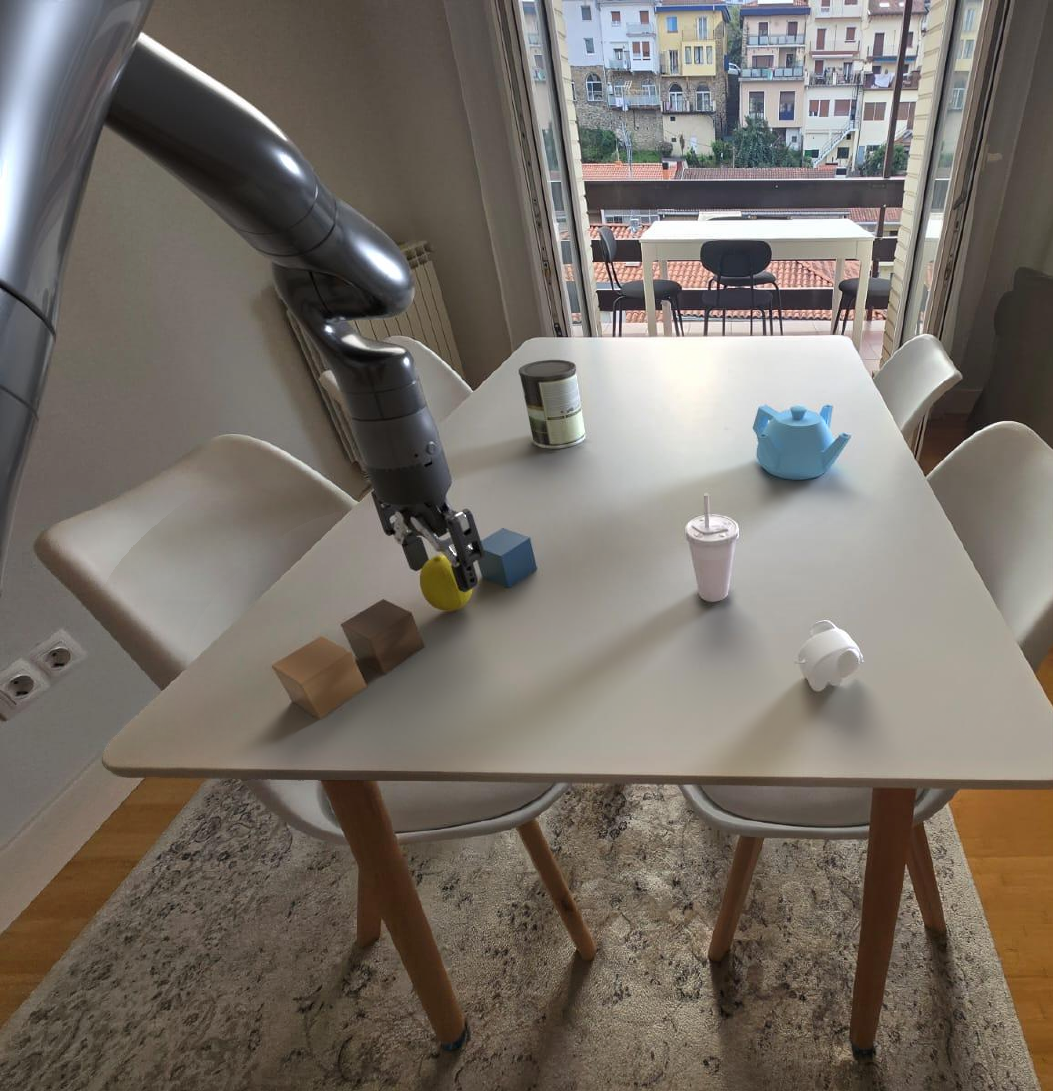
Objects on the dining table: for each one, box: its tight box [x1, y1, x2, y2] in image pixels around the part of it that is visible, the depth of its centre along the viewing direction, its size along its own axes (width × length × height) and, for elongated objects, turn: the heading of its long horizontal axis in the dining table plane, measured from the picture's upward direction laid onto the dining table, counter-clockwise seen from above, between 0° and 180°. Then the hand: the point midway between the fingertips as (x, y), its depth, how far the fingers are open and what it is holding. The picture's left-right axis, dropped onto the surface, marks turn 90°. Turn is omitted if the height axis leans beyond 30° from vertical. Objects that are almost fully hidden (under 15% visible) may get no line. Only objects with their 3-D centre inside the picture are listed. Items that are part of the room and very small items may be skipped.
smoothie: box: [684, 493, 740, 603], centre depth 72 cm, size 6×6×14 cm
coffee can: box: [518, 359, 587, 450], centre depth 114 cm, size 10×10×14 cm
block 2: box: [340, 598, 426, 675], centre depth 65 cm, size 5×5×5 cm
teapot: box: [752, 404, 852, 481], centre depth 104 cm, size 15×15×11 cm
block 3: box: [476, 527, 538, 589], centre depth 78 cm, size 5×5×5 cm
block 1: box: [270, 635, 368, 720], centre depth 60 cm, size 5×5×5 cm
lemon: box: [419, 554, 474, 612], centre depth 71 cm, size 6×6×8 cm
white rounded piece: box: [793, 619, 865, 692], centre depth 61 cm, size 7×8×6 cm
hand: (444, 577), depth 70 cm, fingers open, 8 cm apart
